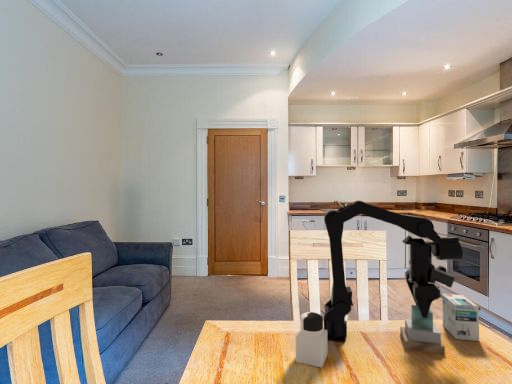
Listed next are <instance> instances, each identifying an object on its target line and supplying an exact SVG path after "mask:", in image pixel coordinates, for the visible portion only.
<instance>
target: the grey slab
mask: <svg viewBox="0 0 512 384" xmlns="http://www.w3.org/2000/svg"><path fill="white" fill-rule="evenodd" d="M404 327H405V330H406V332H407V335H408V337H409V340H413V341H421V342H429V343H437V344H441V341H442V339H441V338H442V335H441V334H442V333H441V331H440V329H439V328H438V327H437V325H436V323H435V322H434V321H433V330H426V329H418V328H414V327H413V324H412V318H411V319H410V318H404Z"/></svg>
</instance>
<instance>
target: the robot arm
mask: <svg viewBox="0 0 512 384" xmlns="http://www.w3.org/2000/svg"><path fill="white" fill-rule="evenodd" d="M359 215H363V216H366V217H370V218H373V219H375V220H378V221H382V222H384V223H388V224H391V225H393V226H396V227H399V228H400V229H402V230H405V231H406V232H408V233H410V234H412V235H414V236H416V237H418V238H415V237H413V238H412V236H411V235H407V236H406V237H405V238H404V239H403V240H402V243H403V244H405V245H409V260H408V264H409V267H410V268H409V269H407V270H406V271H405V272H404V277H405V278H404V279H405V282H406V284H407V286H408V288H409V291H410V293H411V296H412V299H413V301H414V303H415V305H416V306H418V307H419V310H420V312H421V315H422V317H423V318H427V316H428V312H429V309H430V308H431V307H432V303H433V302H434V301H437V300H439V299H440V298H441V289H440V288H439V287H438V286H437V285H435V284H436V282H437V283H439V284H441V285H444V286H446V287H448V288H452V286H453V284H454V281H456V277H455V276H454V274H451V273H450V272H447V268H446V267H445V266H442V265H439V266H437V267H435V266H436V265H434V264H433V258H432V256H433V257H436V260H438V261H439V260H440V261H461V260H462V258H463V256H464V255H463V253H464V251H463V248H462V244H461V243H460V238H459V237H457V236H440V235H439V234H438V233H437V231H436V230H435V226H434V223H433V222H432V220H430V219H428V218H425V217H422V216H418V215H416V216H415V215H410V214H409V215H408V214H400V213H397V212H396V211H395V212H394V211H391V210H387V209H385V208H382V207H378V206H375V205H372V204H369V203H366V202H365V201H362V200H355V201H353V202H352V203H350V204H348V205H344V206H343V207H340V208H339V209H329V210H328V211H326V213H325V214H324V217H323V219H324V223H325V228H326V232H327V234H328V238H329V249H330V262H331V272H332V287H331V294H330V299H329V300H328V301H327V302H326V303H325V304H324V315H323V329H325V330H327V341H336V342H343V343H345V342H346V338H347V336H348V323H347V320H346V316H347V315H348V314H350V313H351V311H352V307H354V303H353V300H352V299H353V291H352V288H351V286H346V279H345V277H346V276H345V264H344V255H343V254H344V253H343V240H342V239H343V234H344V233H343V232H344V224H345V222H348V221H350V220H352V219H353V218H356V217H357V216H359ZM425 239H428V240H429V241H427V240H426V241H425Z"/></svg>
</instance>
